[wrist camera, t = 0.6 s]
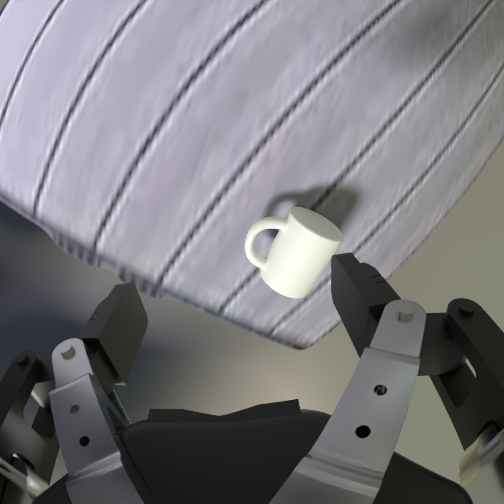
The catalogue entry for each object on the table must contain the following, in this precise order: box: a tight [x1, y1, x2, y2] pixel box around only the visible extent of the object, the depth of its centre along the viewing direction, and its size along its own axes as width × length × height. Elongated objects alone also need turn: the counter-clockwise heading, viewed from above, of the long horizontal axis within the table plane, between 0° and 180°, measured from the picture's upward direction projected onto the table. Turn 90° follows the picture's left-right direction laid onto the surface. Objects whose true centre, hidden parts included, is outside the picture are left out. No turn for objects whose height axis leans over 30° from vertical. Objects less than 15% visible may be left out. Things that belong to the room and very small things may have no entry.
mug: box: [245, 207, 343, 298], centre depth 38 cm, size 12×10×8 cm
